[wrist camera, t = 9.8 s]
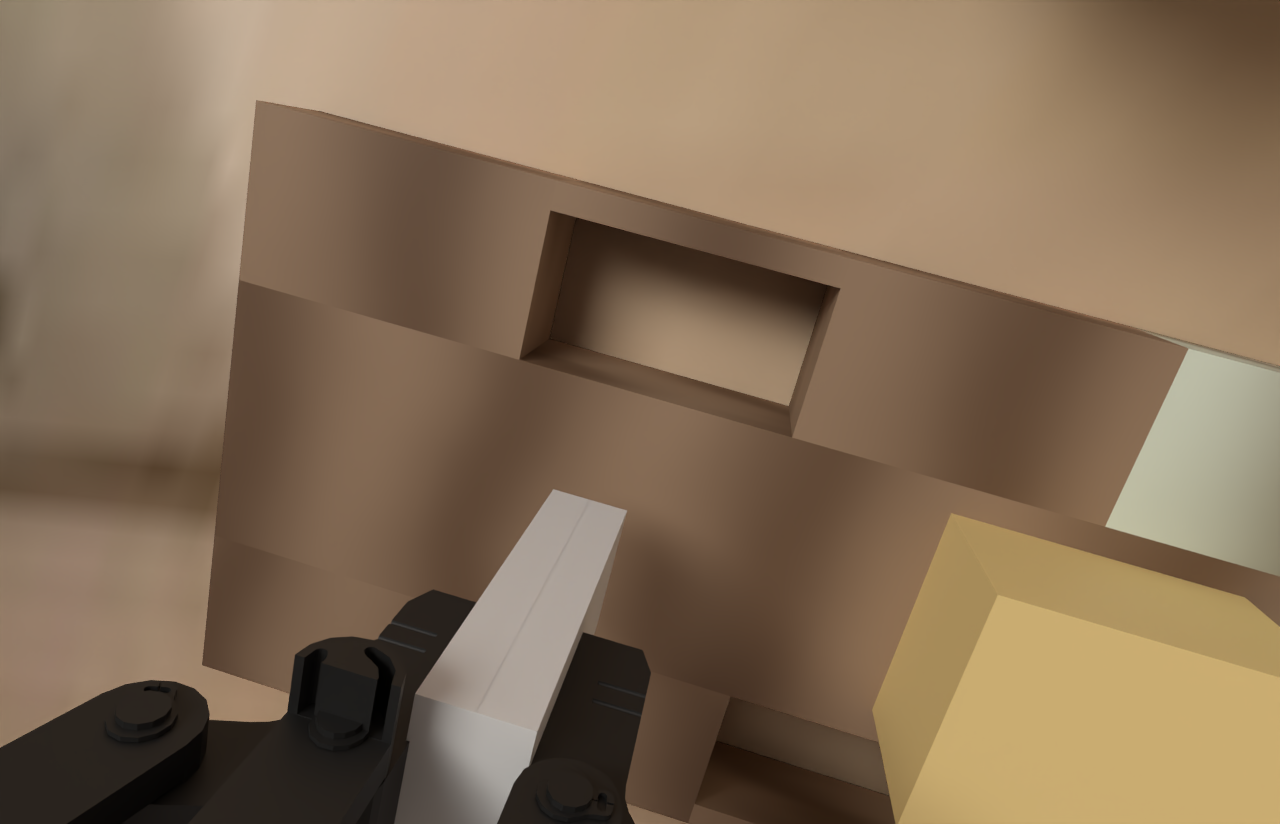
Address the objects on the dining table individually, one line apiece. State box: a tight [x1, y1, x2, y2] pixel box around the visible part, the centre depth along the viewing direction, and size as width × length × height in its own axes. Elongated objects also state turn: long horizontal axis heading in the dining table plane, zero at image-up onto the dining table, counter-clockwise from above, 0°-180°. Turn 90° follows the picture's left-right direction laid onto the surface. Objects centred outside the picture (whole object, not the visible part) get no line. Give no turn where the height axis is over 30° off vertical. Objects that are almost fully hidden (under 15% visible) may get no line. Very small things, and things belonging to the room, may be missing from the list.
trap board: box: [202, 100, 1280, 824], centre depth 17 cm, size 25×14×6 cm, turn 76°
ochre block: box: [872, 513, 1280, 824], centre depth 15 cm, size 6×5×4 cm
